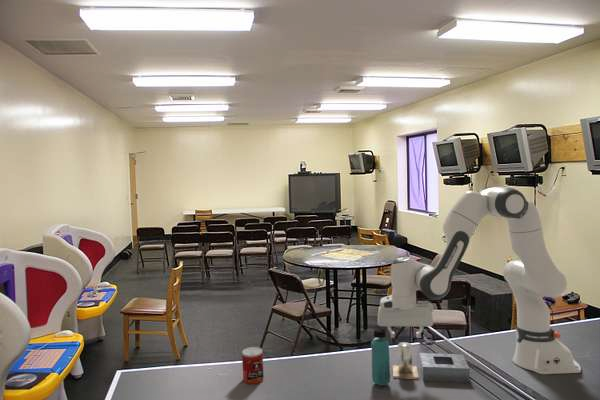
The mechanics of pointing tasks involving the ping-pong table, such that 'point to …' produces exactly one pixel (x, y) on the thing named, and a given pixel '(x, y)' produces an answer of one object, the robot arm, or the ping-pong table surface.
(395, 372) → the oak pad
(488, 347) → the ping-pong table surface
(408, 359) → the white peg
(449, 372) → the block
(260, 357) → the canned food
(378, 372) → the beverage bottle
